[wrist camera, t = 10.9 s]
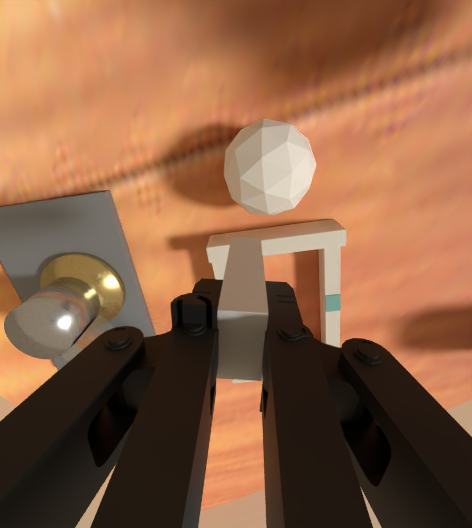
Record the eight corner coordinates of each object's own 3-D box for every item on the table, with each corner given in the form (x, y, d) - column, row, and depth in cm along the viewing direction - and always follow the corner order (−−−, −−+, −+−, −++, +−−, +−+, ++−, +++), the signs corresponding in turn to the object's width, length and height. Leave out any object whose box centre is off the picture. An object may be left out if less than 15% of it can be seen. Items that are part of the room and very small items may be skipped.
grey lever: (77, 235, 29) (30, 261, 23) (202, 345, 35) (193, 391, 28) (30, 285, 31) (-24, 320, 25) (154, 380, 37) (136, 429, 31)
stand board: (-16, 209, 29) (-26, 211, 28) (109, 190, 28) (104, 192, 27) (64, 366, 38) (59, 372, 37) (162, 356, 37) (160, 362, 36)
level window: (210, 235, 30) (206, 247, 26) (332, 218, 29) (346, 229, 25) (233, 359, 37) (233, 383, 33) (333, 349, 36) (344, 372, 32)
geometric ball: (246, 176, 30) (193, 191, 25) (280, 100, 25) (222, 97, 19) (299, 219, 28) (254, 245, 23) (348, 147, 23) (306, 158, 17)
